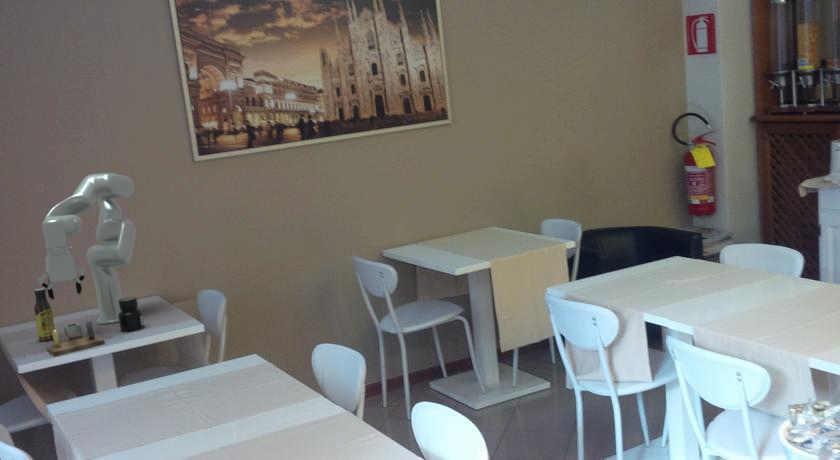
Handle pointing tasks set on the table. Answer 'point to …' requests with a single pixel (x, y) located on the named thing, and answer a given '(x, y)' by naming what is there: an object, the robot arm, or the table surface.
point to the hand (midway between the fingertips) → (65, 296)
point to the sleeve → (72, 331)
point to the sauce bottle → (43, 316)
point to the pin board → (77, 343)
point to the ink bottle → (130, 315)
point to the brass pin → (56, 338)
